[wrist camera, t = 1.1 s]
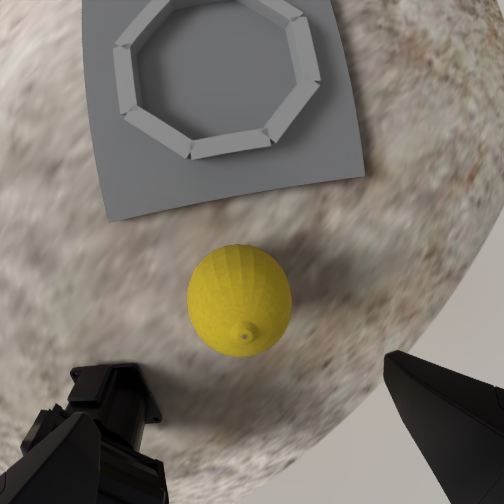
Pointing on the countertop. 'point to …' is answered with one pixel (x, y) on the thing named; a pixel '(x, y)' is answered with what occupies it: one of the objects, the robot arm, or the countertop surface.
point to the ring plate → (215, 100)
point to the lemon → (239, 300)
